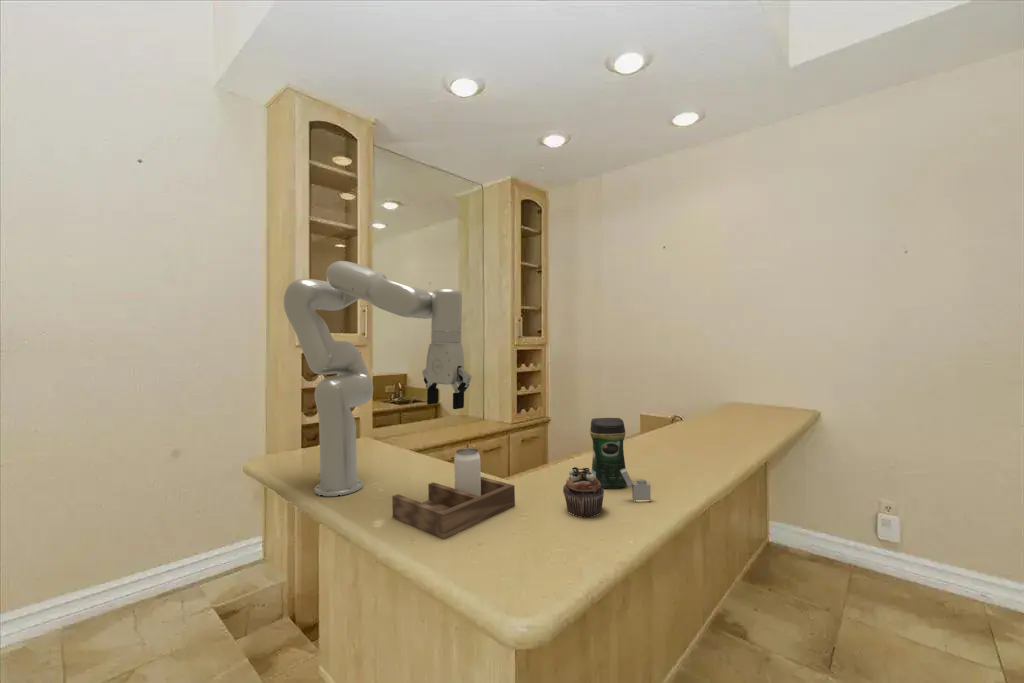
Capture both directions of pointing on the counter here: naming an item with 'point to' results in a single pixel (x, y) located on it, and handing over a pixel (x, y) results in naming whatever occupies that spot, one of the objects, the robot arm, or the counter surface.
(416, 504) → the tray
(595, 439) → the coffee jar
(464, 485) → the can
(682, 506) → the counter surface
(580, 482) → the cupcake
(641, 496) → the lighter
